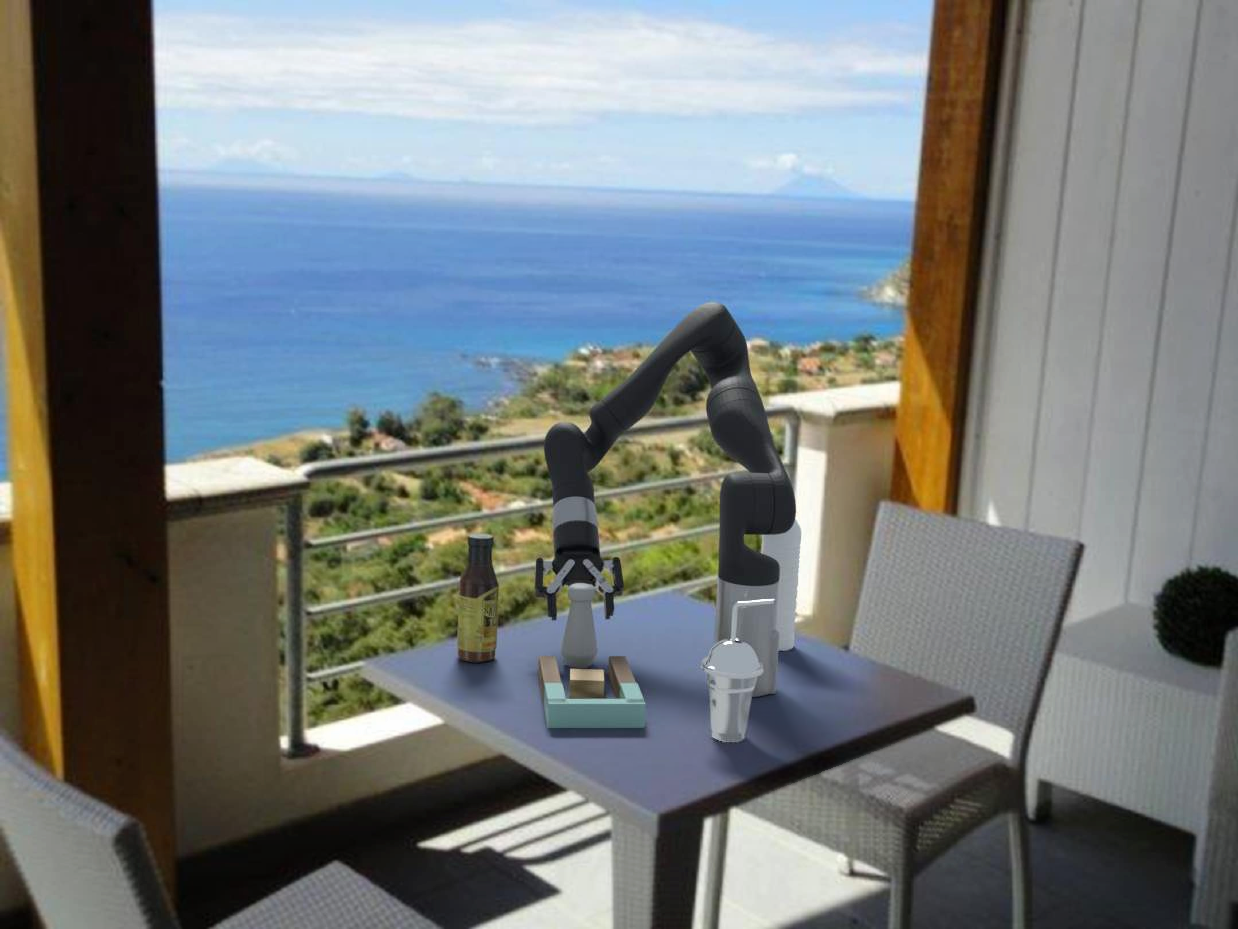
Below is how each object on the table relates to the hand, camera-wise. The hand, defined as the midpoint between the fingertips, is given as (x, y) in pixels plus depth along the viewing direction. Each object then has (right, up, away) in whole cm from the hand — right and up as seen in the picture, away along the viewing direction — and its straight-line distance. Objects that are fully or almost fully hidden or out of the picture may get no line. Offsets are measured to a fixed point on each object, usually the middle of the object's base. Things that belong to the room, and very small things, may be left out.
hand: (581, 617), depth 207 cm
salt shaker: (0, -8, 0) cm, 8 cm away
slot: (+1, -9, -12) cm, 15 cm away
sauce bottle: (-17, -7, +1) cm, 18 cm away
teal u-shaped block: (+2, -11, -22) cm, 25 cm away
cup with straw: (+21, -13, -28) cm, 37 cm away
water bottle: (+32, -7, +13) cm, 36 cm away
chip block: (+1, -10, -12) cm, 16 cm away
